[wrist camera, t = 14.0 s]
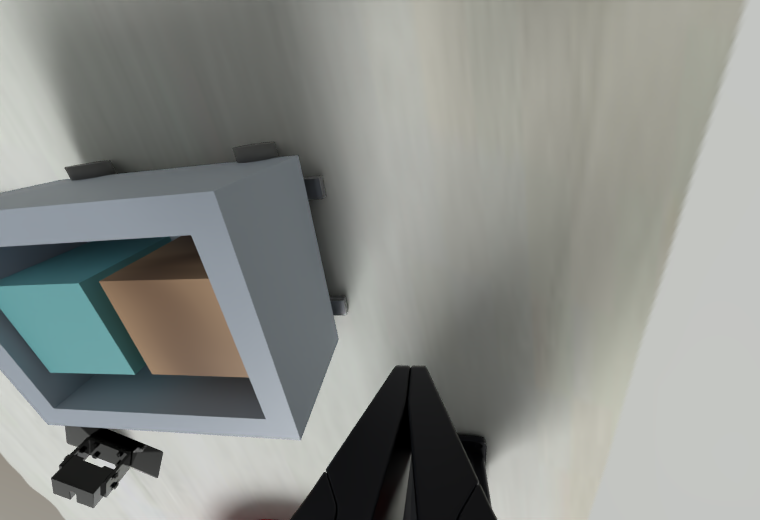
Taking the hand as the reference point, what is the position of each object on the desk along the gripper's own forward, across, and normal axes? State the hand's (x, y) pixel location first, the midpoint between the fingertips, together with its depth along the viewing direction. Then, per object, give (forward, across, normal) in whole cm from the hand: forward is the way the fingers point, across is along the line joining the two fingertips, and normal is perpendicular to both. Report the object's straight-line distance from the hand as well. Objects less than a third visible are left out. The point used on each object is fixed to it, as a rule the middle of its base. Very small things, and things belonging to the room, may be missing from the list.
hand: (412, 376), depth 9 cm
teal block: (+6, +14, 0) cm, 16 cm away
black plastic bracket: (+10, +30, +20) cm, 37 cm away
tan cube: (+6, +9, 0) cm, 11 cm away
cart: (+9, +12, 0) cm, 14 cm away
